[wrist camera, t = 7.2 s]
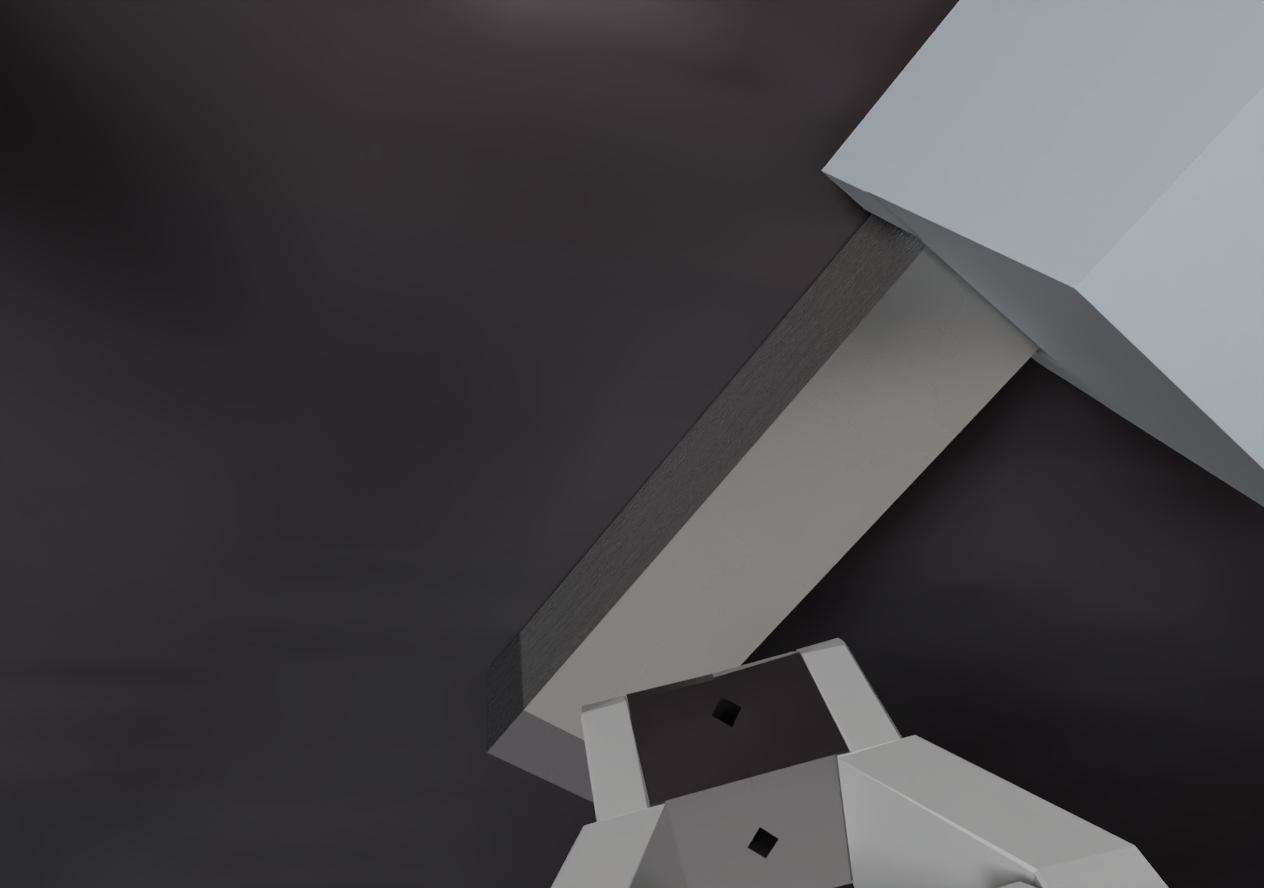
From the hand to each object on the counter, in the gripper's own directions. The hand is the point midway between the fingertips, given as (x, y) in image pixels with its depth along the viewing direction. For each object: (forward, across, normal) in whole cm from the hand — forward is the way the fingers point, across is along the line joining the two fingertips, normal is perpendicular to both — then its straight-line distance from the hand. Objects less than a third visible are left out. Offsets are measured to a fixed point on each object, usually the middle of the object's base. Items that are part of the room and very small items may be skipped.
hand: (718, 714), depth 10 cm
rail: (+5, -5, -2) cm, 8 cm away
